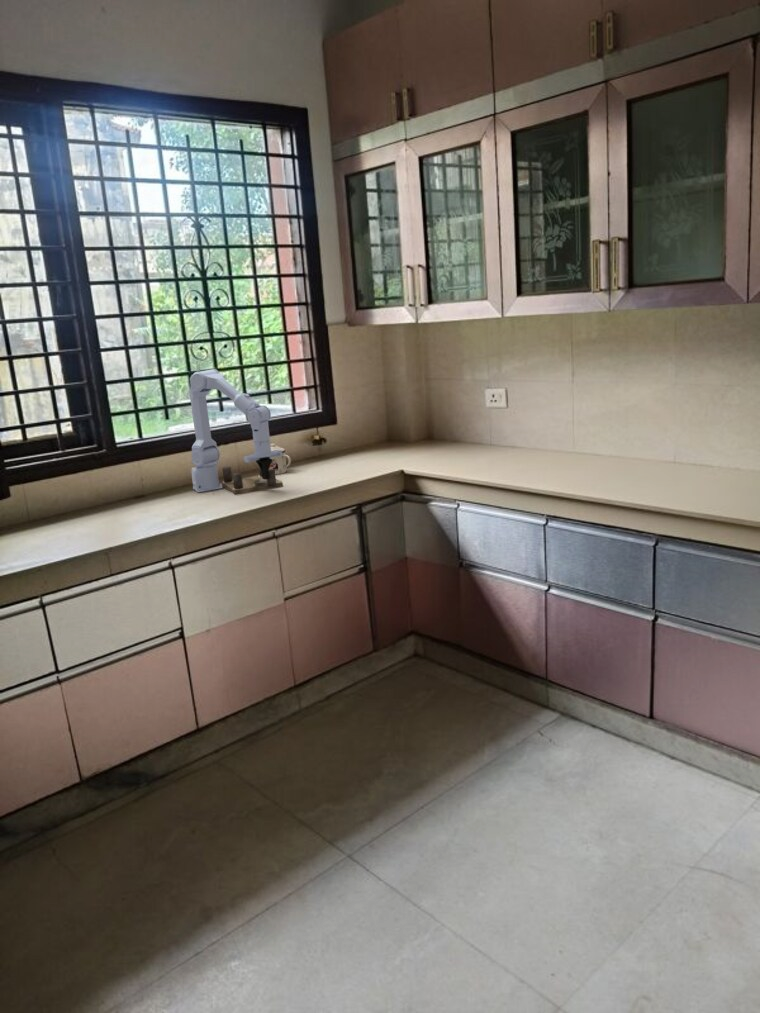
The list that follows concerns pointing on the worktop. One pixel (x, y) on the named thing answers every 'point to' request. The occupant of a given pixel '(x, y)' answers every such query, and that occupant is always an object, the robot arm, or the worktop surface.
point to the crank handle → (270, 481)
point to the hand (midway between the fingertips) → (265, 478)
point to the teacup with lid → (279, 461)
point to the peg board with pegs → (244, 482)
